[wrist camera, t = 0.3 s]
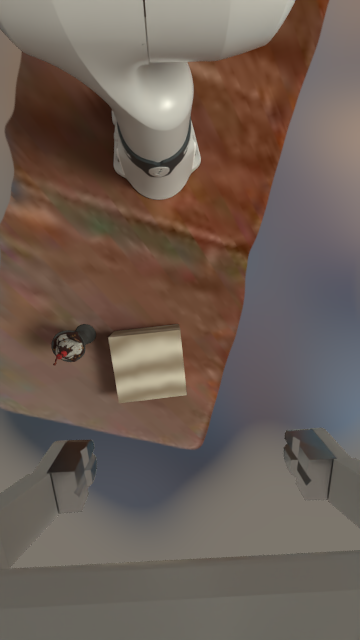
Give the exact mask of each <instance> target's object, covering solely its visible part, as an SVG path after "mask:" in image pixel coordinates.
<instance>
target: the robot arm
mask: <svg viewBox="0 0 360 640" xmlns="http://www.w3.org/2000/svg"><path fill="white" fill-rule="evenodd" d="M294 2H295V0H145V10H146V17H145V12H144V0H0V29H1V30H2V32H3V33H4V34H5V35H6V36H7V37H8V38H9V39H10V40H11V41H12V42H13V43H14V44H15V45H16V46H17V47H18V48H19V49H20V50H21V51H22V52H24V53H26V54H28V55H30V56H33V57H35V58H38V59H40V60H43V61H45V62H47V63H50V64H52V65H54V66H56V67H58V68H60V69H62V70H63V71H65V72H67V73H69V74H70V75H72V76H73V77H75V78H77V79H78V80H79V81H81V82H82V83H84V84H85V85H86V86H88V87H89V88H90V89H91V90H93V91H94V92H95V93H96V94H97V95H99V96H100V97H101V98H102V99H103V100H104V101H105V102H106V103H107V104H108V105H109V106H110V107H111V109H112V121H113V124H114V125H115V132H114V169H115V171H116V172H117V173H118V174H119V175H121V176H122V177H124V178H126V179H127V180H128V181H129V182H130V183H131V185H132V186H133V187H134V188H135V189H136V190H137V191H138V192H139V193H140V194H142V195H143V196H145V197H148V198H151V199H158V200H160V199H167V198H170V197H172V196H174V195H175V194H177V193H178V192H179V191H180V190H181V189H182V188H183V187H184V185H185V184H186V182H187V180H188V178H189V176H190V174H191V173H192V172H193V171H194V170H196V169H197V168H198V167H199V165H200V163H201V157H200V153H199V149H198V145H197V141H196V137H195V133H194V129H193V125H192V121H191V117H190V115H191V108H192V101H193V79H192V74H191V71H190V68H189V65H188V63H187V62H194V61H218V60H222V59H225V58H228V57H232V56H235V55H239V54H242V53H245V52H247V51H250V50H253V49H256V48H258V47H261V46H264V45H266V44H267V43H268V42H269V41H270V40H271V39H272V37H273V36H274V35H275V34H276V32H277V31H278V30H279V28H280V27H281V25H282V24H283V22H284V20H285V19H286V17H287V15H288V14H289V12H290V10H291V8H292V6H293V4H294ZM118 160H119V162H118ZM285 440H286V442H287V444H286V445H285V447H284V460H285V463H286V466H287V468H288V470H289V472H290V473H291V474H292V475H293V476H295V477H296V485H297V487H298V489H299V490H300V492H301V494H302V496H303V498H304V499H305V500H328V502H330V503H331V504H332V505H333V506H334V507H336V508H337V509H338V510H339V511H340V512H342V514H344V515H345V516H346V517H347V518H348V519H350V520H351V521H352V522H353V523H354V524H355V525H357V526H358V527H359V528H360V460H358V459H356V458H351V457H350V456H349V455H348V454H347V453H346V452H345V451H344V449H343V448H342V447H341V446H340V445H339V444H338V443H337V442H336V441H335V440H334V439H333V437H332V436H331V435H330V434H329V433H328V432H327V431H326V430H325V429H323V428H312V429H300V430H286V432H285ZM94 448H95V447H94V442H93V441H92V440H69V441H56V442H54V443H53V444H52V445H51V447H50V448H49V450H48V451H47V453H46V454H45V455H44V457H43V458H42V460H41V461H40V463H39V464H38V466H37V467H36V469H35V470H34V471H33V473H32V474H28V475H26V476H25V477H23V478H22V479H20V480H19V481H17V482H16V483H15V484H13V485H12V486H10V487H9V488H7V489H6V490H4V491H3V492H1V493H0V640H360V550H354V551H335V552H315V553H297V554H278V555H259V556H240V557H222V558H202V559H183V560H163V561H145V562H126V563H106V564H89V565H88V564H87V565H70V566H50V567H30V568H12V569H10V567H11V566H12V565H13V564H14V563H15V562H16V561H17V560H18V558H19V557H20V556H21V555H22V554H23V553H24V552H25V551H26V550H27V549H28V548H29V547H30V545H31V544H32V543H33V542H34V541H35V540H36V539H37V538H38V537H39V536H40V535H41V533H42V532H43V531H44V530H45V529H46V528H47V527H48V526H49V525H50V524H51V523H52V522H53V521H54V519H55V518H56V517H57V516H58V514H60V513H72V512H82V510H83V507H84V505H85V502H86V499H87V497H88V487H89V486H90V485H91V484H92V483H93V481H94V478H95V475H96V469H97V460H96V456H95V455H94V454H93V451H94Z"/></svg>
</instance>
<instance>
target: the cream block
mask: <svg viewBox="0 0 360 640" xmlns="http://www.w3.org/2000/svg"><path fill="white" fill-rule="evenodd" d="M108 339H109V345H110V351H111V357H112V363H113V369H114V375H115V381H116V387H117V393H118V399H119V403H124V402H133V401H141V400H149V399H158V398H166V397H174V396H183V395H187V392H186V383H185V373H184V363H183V353H182V343H181V334H180V327H179V324H176V325H166V326H157V327H148V328H139V329H130V330H121V331H114V332H113V333H112V334H111V335H110V336H109V337H108Z"/></svg>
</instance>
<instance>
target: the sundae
mask: <svg viewBox="0 0 360 640" xmlns="http://www.w3.org/2000/svg"><path fill="white" fill-rule="evenodd" d="M95 337H96V332H95V330H94V328H93V327H91V326H90V325H87V324H83V325H80V326H79V327H77V329H76V331H62V332H59V333H58V334H56V335H55V337H54V338H53V341H52V351H53V353H54V354H55V355H56V360H55V363H54V364H53V365H56V361H57V359H61V360H63V361H66V362H75V361H77V360H78V359H80V358H81V357H82V356H83V355H84V353H85V345H86V344H89V343H91V342H93V341H94V339H95Z"/></svg>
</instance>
